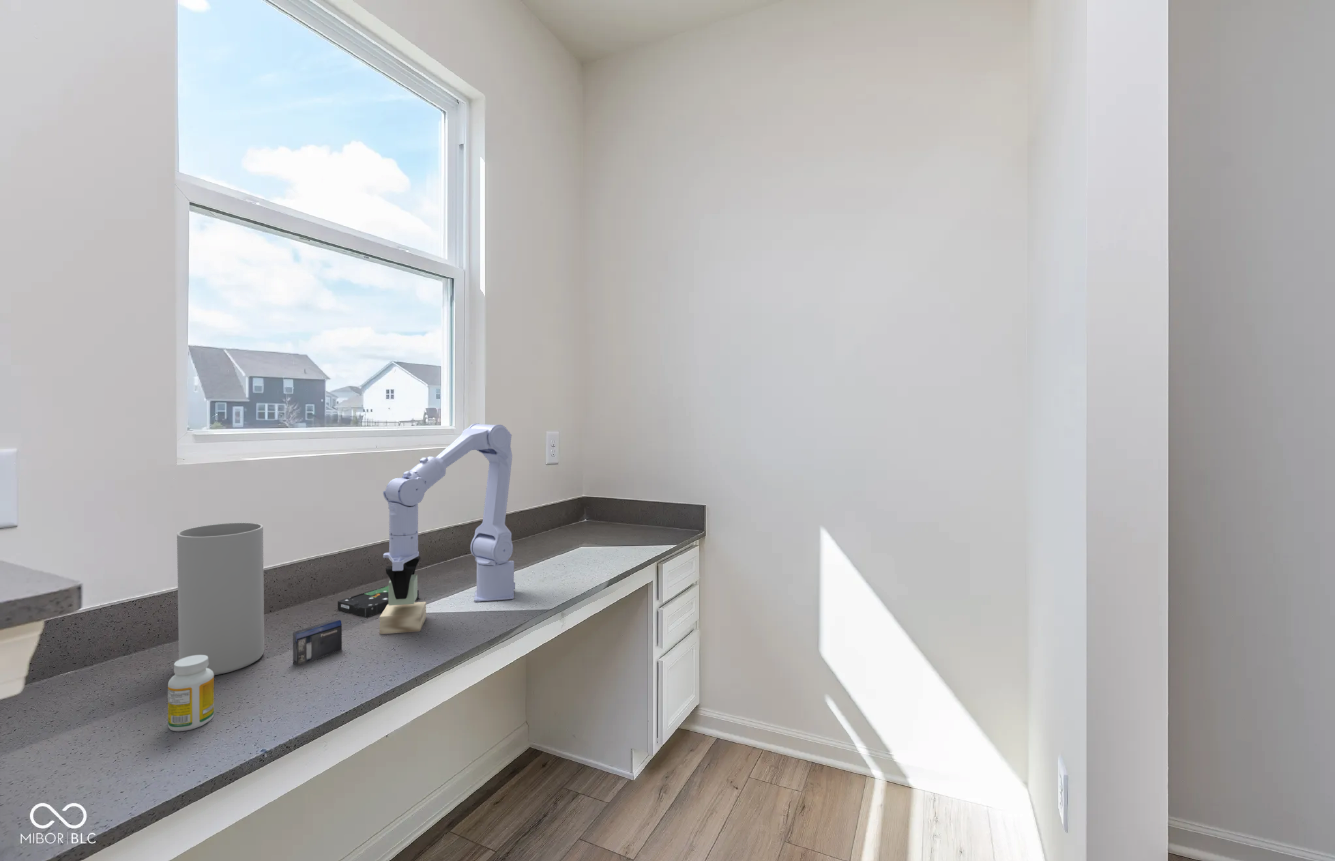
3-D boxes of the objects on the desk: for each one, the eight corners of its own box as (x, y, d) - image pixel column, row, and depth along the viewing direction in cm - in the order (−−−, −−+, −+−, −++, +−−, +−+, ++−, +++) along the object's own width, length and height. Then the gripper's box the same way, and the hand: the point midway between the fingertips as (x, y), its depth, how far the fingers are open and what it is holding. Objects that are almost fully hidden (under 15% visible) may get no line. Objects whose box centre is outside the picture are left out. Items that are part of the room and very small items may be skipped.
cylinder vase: (162, 680, 99) (159, 538, 98) (205, 650, 111) (203, 523, 110) (243, 675, 102) (241, 536, 101) (276, 646, 114) (275, 522, 113)
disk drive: (366, 620, 130) (419, 600, 143) (366, 608, 130) (419, 589, 143) (336, 612, 134) (391, 593, 148) (336, 600, 134) (391, 583, 148)
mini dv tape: (297, 665, 106) (297, 633, 106) (293, 663, 107) (292, 632, 106) (341, 650, 113) (341, 620, 113) (337, 648, 114) (337, 618, 113)
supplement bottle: (172, 736, 83) (171, 671, 82) (164, 723, 86) (163, 660, 86) (218, 721, 87) (217, 659, 87) (209, 709, 90) (208, 649, 90)
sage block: (417, 596, 129) (417, 574, 128) (413, 603, 124) (413, 581, 124) (393, 597, 127) (393, 575, 127) (388, 605, 122) (388, 582, 122)
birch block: (425, 618, 131) (426, 601, 130) (420, 632, 123) (420, 613, 123) (387, 621, 129) (387, 604, 128) (379, 635, 121) (379, 616, 121)
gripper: (390, 526, 131) (390, 585, 131) (376, 541, 117) (376, 606, 117) (423, 525, 133) (423, 583, 133) (413, 539, 119) (413, 604, 119)
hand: (403, 594), depth 125 cm, fingers closed on sage block, 5 cm apart
